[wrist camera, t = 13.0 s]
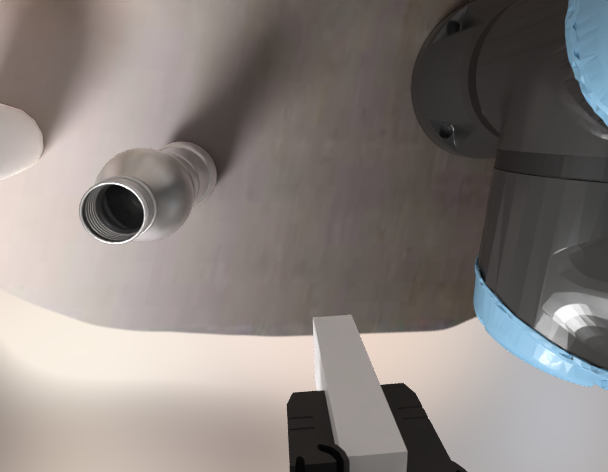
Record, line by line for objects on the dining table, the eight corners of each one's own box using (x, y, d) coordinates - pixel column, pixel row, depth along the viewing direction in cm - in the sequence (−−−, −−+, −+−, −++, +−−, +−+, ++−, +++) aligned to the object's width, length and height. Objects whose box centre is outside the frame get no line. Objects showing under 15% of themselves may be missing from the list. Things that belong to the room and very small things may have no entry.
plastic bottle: (142, 168, 40) (22, 207, 21) (191, 126, 39) (113, 127, 20) (185, 215, 42) (111, 291, 23) (233, 176, 41) (198, 220, 22)
